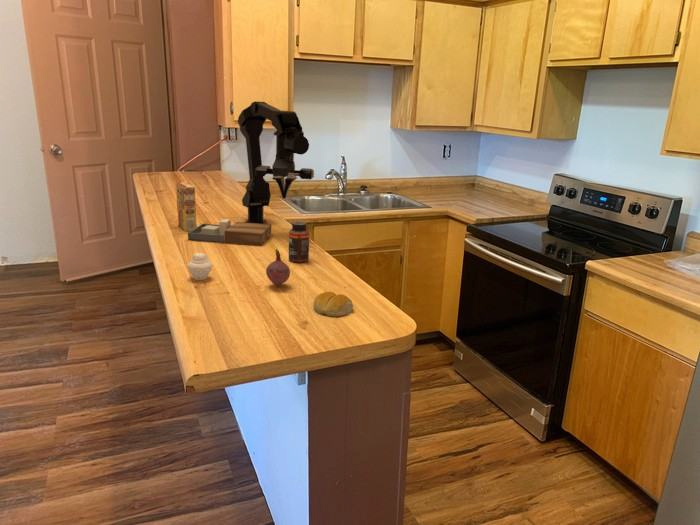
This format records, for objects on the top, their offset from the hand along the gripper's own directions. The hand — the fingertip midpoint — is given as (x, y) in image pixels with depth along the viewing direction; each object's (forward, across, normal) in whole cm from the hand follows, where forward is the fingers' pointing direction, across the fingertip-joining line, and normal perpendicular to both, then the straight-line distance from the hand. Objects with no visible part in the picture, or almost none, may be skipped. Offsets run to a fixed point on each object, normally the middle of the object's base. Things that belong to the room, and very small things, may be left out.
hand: (284, 198), depth 180 cm
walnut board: (+13, -10, -8) cm, 18 cm away
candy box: (+13, -34, 0) cm, 36 cm away
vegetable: (+13, +9, -49) cm, 52 cm away
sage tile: (+10, -23, -7) cm, 26 cm away
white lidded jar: (+13, -12, -48) cm, 51 cm away
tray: (+13, -22, -8) cm, 27 cm away
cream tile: (+10, -18, -5) cm, 21 cm away
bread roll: (+14, +24, -61) cm, 67 cm away
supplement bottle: (+13, +10, -26) cm, 31 cm away
